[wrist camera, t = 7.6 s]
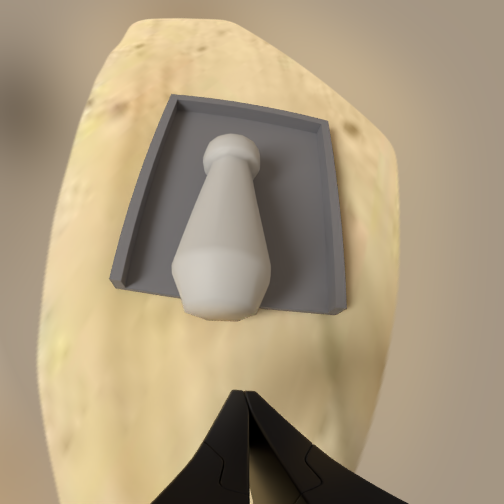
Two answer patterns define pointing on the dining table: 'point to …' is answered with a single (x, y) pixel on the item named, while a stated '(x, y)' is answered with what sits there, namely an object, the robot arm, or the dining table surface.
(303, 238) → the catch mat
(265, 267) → the salt shaker
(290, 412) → the dining table surface
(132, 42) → the dining table surface
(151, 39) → the dining table surface
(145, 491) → the dining table surface
